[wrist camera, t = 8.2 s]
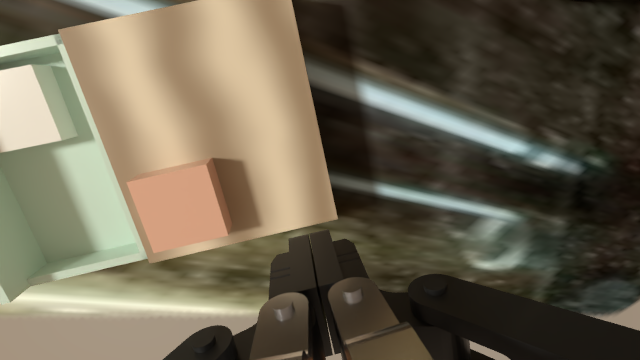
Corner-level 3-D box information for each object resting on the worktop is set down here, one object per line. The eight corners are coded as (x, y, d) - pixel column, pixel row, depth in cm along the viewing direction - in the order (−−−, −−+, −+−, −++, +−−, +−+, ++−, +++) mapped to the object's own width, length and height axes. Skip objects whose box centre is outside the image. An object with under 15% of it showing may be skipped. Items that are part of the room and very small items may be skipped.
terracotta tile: (212, 157, 24) (205, 164, 22) (232, 223, 25) (228, 235, 24) (138, 174, 24) (126, 182, 22) (163, 240, 25) (153, 253, 23)
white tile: (-49, 79, 22) (-23, 80, 24) (-13, 155, 24) (9, 150, 26) (31, 64, 23) (50, 65, 25) (61, 140, 24) (78, 136, 26)
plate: (286, -4, 25) (287, -19, 22) (330, 201, 30) (337, 218, 26) (92, 37, 25) (57, 29, 21) (167, 239, 29) (149, 263, 26)
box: (88, 38, 25) (41, 28, 20) (163, 240, 29) (140, 271, 25) (-51, 67, 25) (-132, 64, 20) (47, 267, 29) (1, 304, 24)
